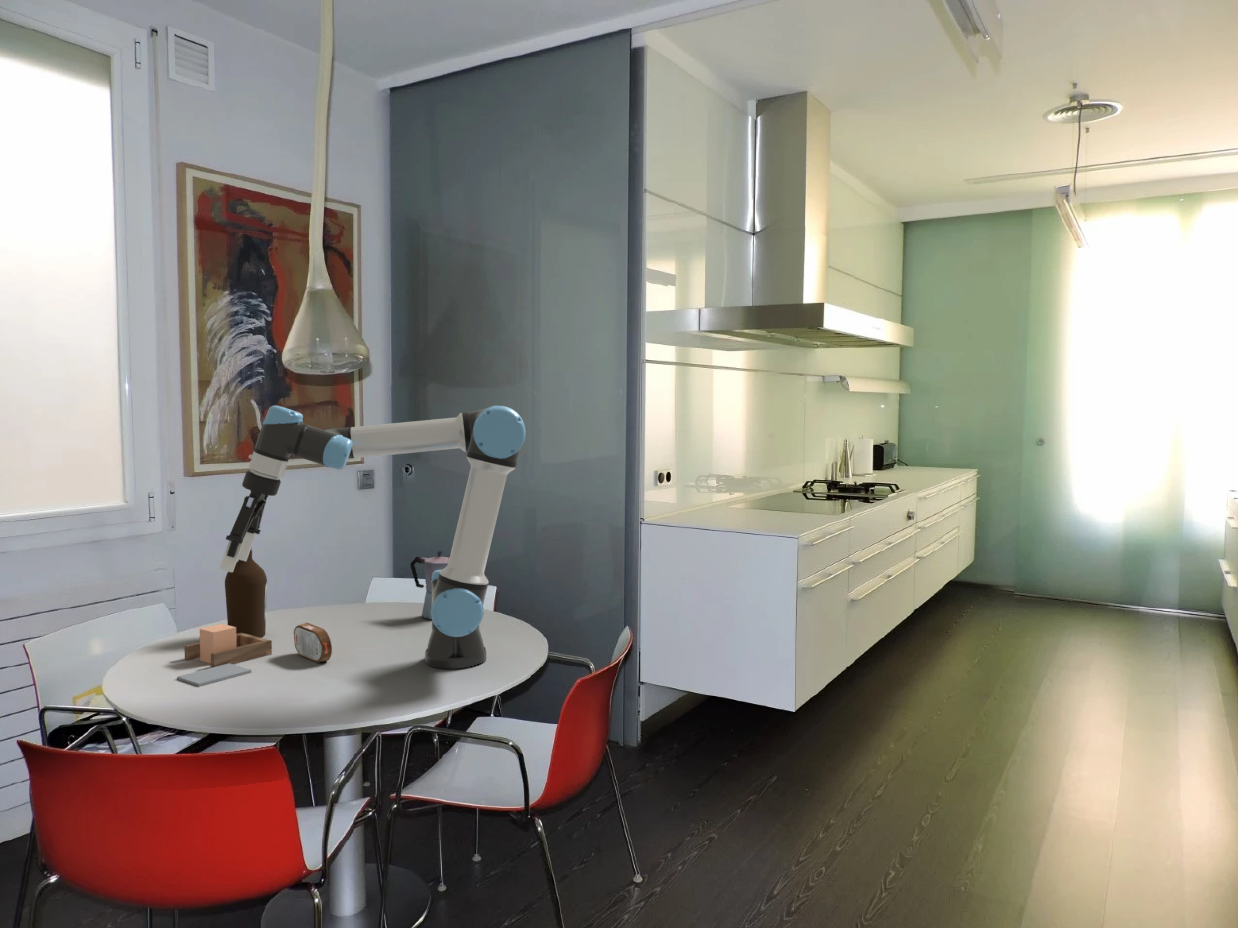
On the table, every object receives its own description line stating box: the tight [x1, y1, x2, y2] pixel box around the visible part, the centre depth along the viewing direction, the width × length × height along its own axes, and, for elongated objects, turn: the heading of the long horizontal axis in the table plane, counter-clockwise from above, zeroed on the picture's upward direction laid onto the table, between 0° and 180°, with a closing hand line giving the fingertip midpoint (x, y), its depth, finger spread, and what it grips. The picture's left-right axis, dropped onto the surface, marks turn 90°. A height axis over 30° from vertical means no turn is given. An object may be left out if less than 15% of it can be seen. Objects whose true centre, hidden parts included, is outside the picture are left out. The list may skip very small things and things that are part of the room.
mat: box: [176, 663, 252, 687], centre depth 207 cm, size 9×13×1 cm
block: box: [199, 623, 236, 664], centre depth 220 cm, size 6×6×8 cm
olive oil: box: [224, 545, 268, 638], centre depth 241 cm, size 11×11×25 cm
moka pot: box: [410, 550, 450, 620], centre depth 265 cm, size 10×15×20 cm, turn 89°
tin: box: [293, 622, 333, 664], centre depth 221 cm, size 15×3×8 cm, turn 47°
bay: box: [183, 633, 273, 668], centre depth 222 cm, size 13×16×4 cm
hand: (233, 564), depth 196 cm, fingers open, 13 cm apart
